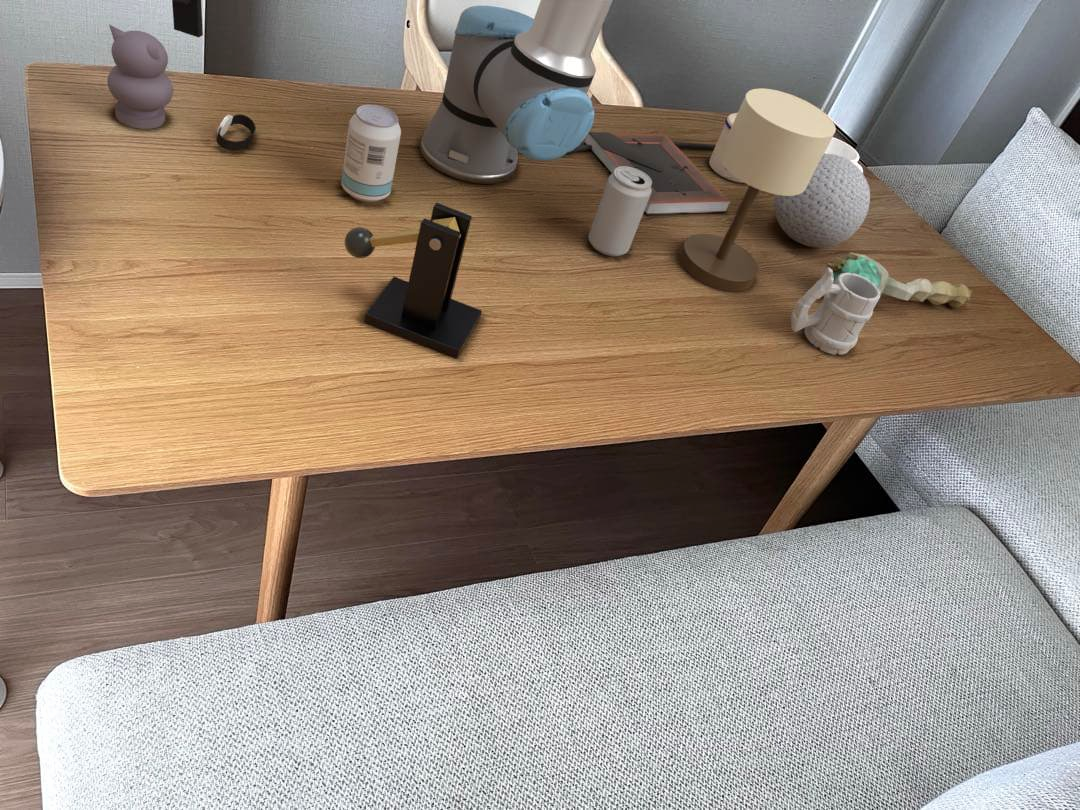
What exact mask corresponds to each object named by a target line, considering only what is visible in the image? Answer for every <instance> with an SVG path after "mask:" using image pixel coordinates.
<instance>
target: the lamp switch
mask: <svg viewBox="0 0 1080 810" xmlns="http://www.w3.org/2000/svg"><path fill="white" fill-rule="evenodd" d="M433 222H435V223H438V224H440V225H443V226H446V227H448V228H451V229H453V230H456V231H458V232H460V231H459V228H458V225H457V222H456V219H455V217H452V218H445V219H437V220H433ZM419 230H420V228H419V229H413V230H406V231H397V232H389V233H381V234H373V232H371V230H369V229H368V228H366V227H361V226H360V227H359V226H358V227H354V228H352V229H350V230H349V231H348V232H347V233H346V235H345V237H344V247H345V250H346V251H347V253H348V254H349V255H350V256H352V257H353V258H356V259H365V258H368V257H370V256H371V255H372V254H373V253H374V251H375V249H376V248H377V247H384V246H392V245H401V244H408V243H417V240H418V235H419ZM460 237H461V234H460Z"/></svg>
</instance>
